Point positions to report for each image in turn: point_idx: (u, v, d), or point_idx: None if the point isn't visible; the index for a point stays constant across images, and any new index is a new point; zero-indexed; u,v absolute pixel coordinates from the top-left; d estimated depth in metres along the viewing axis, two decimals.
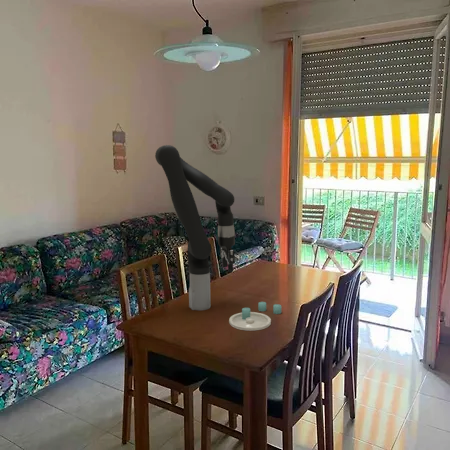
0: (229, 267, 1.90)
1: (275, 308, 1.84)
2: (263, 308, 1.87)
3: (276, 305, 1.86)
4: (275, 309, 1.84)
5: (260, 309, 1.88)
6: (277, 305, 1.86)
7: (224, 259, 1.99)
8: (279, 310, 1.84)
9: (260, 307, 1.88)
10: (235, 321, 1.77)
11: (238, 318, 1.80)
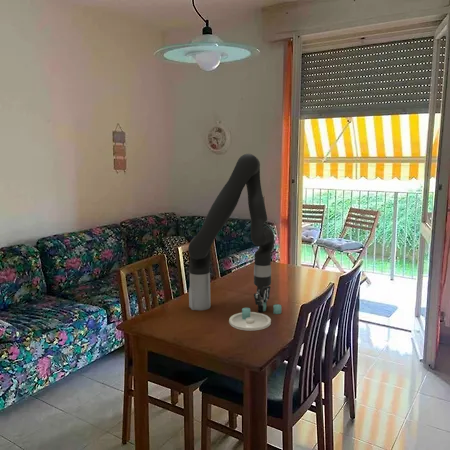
0: None
1: (275, 308, 1.84)
2: (263, 308, 1.87)
3: (276, 305, 1.86)
4: (275, 309, 1.84)
5: None
6: (277, 305, 1.86)
7: None
8: (279, 310, 1.84)
9: None
10: (235, 321, 1.77)
11: (238, 318, 1.80)
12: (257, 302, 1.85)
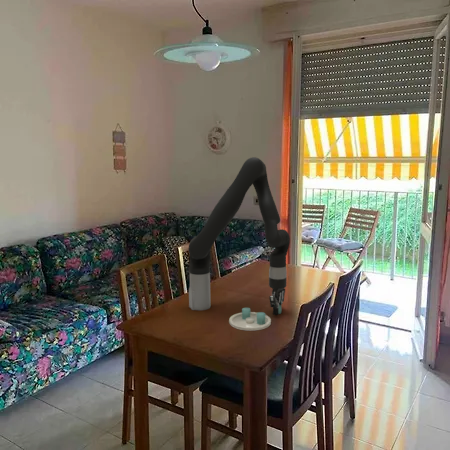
0: None
1: None
2: (263, 319, 1.73)
3: None
4: None
5: (260, 320, 1.73)
6: None
7: None
8: (279, 310, 1.84)
9: (260, 318, 1.73)
10: (235, 321, 1.77)
11: (238, 318, 1.80)
12: (272, 305, 1.82)
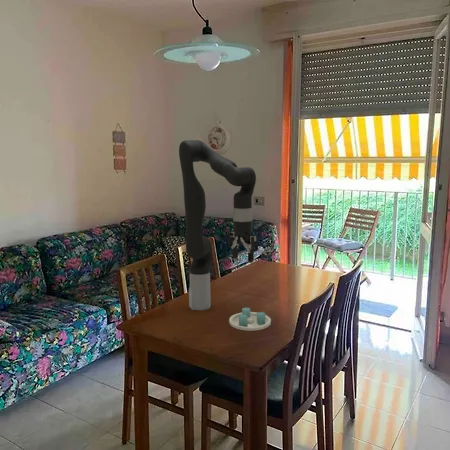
0: None
1: (243, 319, 1.71)
2: (263, 319, 1.73)
3: (242, 316, 1.72)
4: (243, 320, 1.71)
5: (260, 320, 1.73)
6: (242, 315, 1.72)
7: None
8: None
9: (260, 318, 1.73)
10: (235, 321, 1.77)
11: (238, 318, 1.80)
12: (254, 249, 1.62)
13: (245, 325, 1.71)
